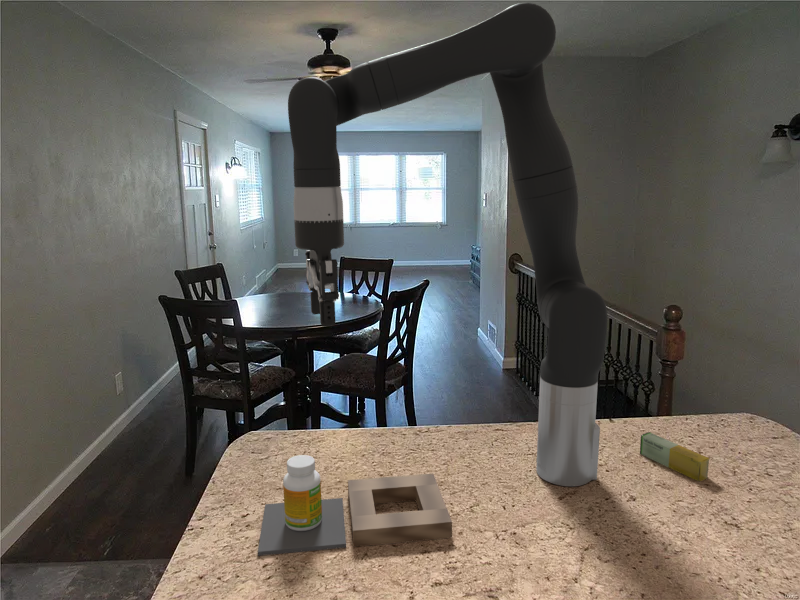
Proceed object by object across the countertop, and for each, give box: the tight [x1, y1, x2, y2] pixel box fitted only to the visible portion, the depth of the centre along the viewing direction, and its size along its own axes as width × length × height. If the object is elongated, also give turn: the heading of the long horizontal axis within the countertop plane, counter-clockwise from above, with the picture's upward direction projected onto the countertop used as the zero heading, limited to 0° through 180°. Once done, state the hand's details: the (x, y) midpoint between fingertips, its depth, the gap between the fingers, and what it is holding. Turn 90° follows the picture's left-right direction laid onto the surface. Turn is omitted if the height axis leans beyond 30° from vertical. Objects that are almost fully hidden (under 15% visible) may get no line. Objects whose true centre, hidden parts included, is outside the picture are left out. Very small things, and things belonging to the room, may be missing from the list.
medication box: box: [639, 431, 710, 482], centre depth 104 cm, size 12×3×4 cm, turn 30°
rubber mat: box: [257, 497, 347, 557], centre depth 87 cm, size 12×12×1 cm
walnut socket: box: [347, 473, 453, 548], centre depth 90 cm, size 14×14×2 cm
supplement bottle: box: [282, 454, 322, 531], centre depth 86 cm, size 5×5×10 cm
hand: (322, 319), depth 94 cm, fingers open, 8 cm apart
